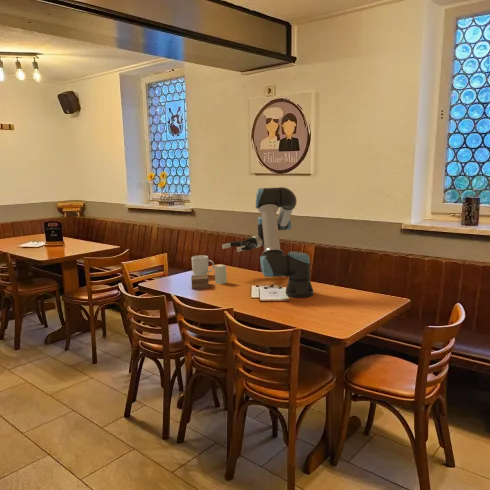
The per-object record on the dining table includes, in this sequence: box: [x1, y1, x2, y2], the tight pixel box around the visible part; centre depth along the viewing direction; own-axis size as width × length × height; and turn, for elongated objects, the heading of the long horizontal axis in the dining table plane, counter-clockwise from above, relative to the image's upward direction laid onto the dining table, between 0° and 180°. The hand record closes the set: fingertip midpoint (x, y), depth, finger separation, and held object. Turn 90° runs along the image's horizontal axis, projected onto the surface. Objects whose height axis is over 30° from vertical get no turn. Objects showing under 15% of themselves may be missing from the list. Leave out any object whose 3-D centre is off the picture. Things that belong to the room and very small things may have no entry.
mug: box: [191, 254, 215, 275], centre depth 287 cm, size 15×11×13 cm
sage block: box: [214, 264, 228, 285], centre depth 268 cm, size 5×5×11 cm
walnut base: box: [191, 273, 210, 290], centre depth 262 cm, size 10×10×6 cm
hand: (229, 248), depth 270 cm, fingers open, 13 cm apart
